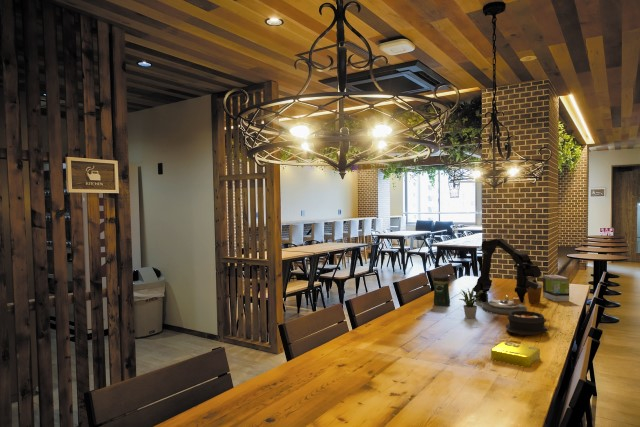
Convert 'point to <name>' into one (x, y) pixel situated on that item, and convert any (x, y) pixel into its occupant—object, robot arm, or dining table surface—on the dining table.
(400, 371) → the dining table surface
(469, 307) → the house plant
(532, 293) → the disposable coffee cup
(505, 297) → the dowel
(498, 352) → the element tile
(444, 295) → the coffee jar
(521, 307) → the base plate
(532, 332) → the casserole
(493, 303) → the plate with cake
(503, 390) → the dining table surface
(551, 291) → the tea box
